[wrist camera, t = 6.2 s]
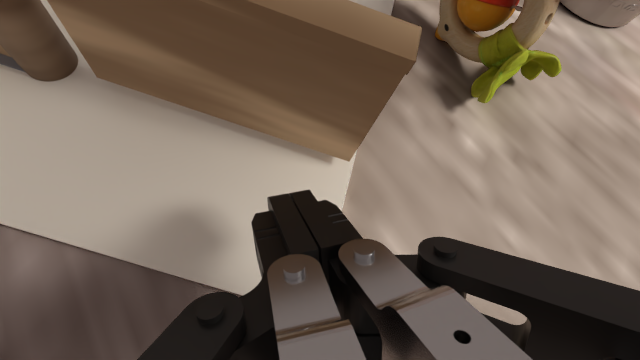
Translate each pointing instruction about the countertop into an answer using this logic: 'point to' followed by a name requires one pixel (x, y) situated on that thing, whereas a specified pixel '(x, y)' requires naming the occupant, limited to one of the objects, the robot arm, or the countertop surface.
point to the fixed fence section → (35, 40)
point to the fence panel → (253, 60)
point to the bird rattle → (498, 39)
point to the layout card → (147, 173)
